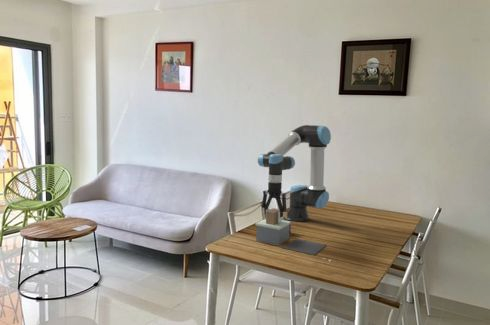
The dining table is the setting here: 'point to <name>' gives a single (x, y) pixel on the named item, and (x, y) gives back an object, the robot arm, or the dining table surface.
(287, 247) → the mat
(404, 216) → the dining table surface
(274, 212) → the block on square base
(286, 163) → the robot arm
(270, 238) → the storage box
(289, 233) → the dark elongated oval piece
